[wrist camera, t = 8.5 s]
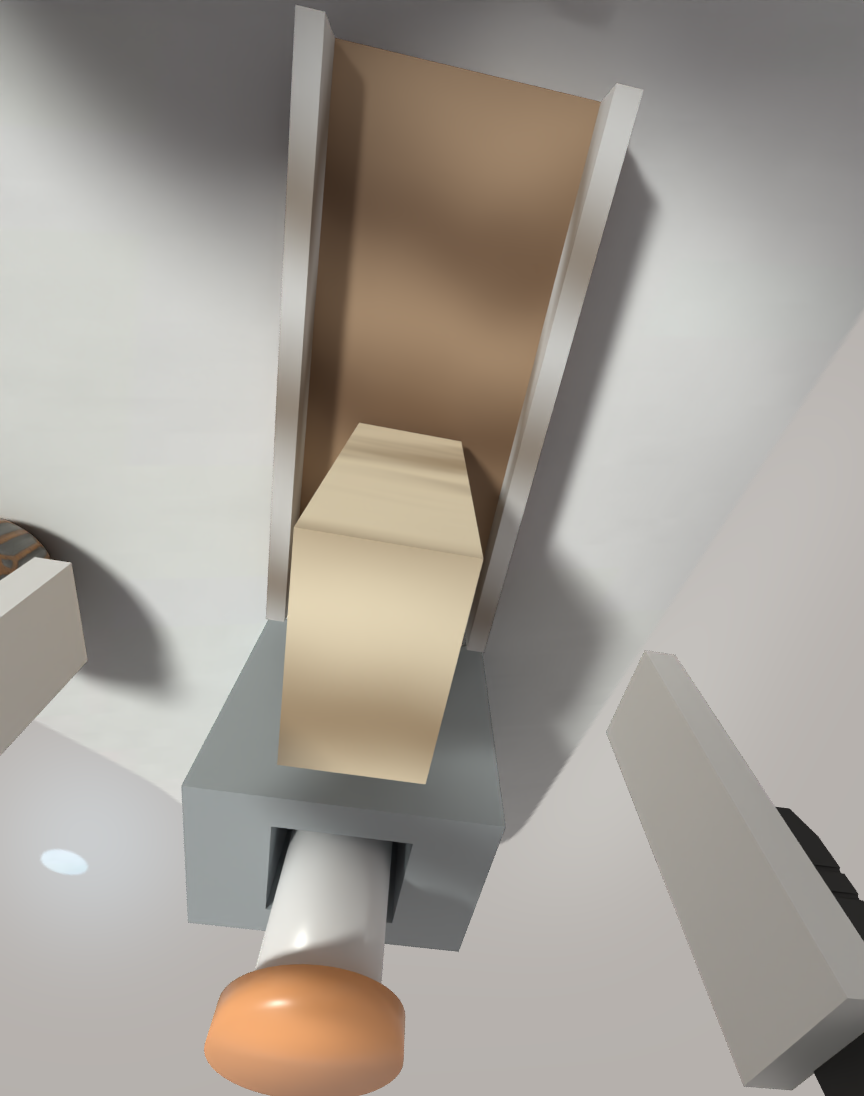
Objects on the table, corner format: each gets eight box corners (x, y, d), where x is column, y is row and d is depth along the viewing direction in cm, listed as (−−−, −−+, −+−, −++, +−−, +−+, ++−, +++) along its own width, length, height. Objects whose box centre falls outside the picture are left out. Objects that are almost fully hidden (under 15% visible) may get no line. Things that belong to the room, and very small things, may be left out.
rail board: (315, 52, 16) (291, 3, 14) (613, 123, 17) (647, 90, 14) (282, 584, 25) (263, 618, 22) (480, 615, 26) (486, 652, 23)
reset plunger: (285, 750, 20) (202, 1000, 13) (424, 768, 21) (418, 1021, 13) (278, 839, 23) (205, 1092, 15) (402, 854, 23) (388, 1106, 16)
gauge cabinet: (270, 616, 26) (181, 785, 17) (492, 650, 27) (522, 829, 18) (264, 731, 29) (188, 922, 20) (461, 758, 30) (472, 953, 21)
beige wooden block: (359, 422, 19) (293, 527, 10) (461, 441, 20) (483, 558, 11) (340, 579, 22) (277, 764, 13) (429, 593, 23) (425, 784, 14)
